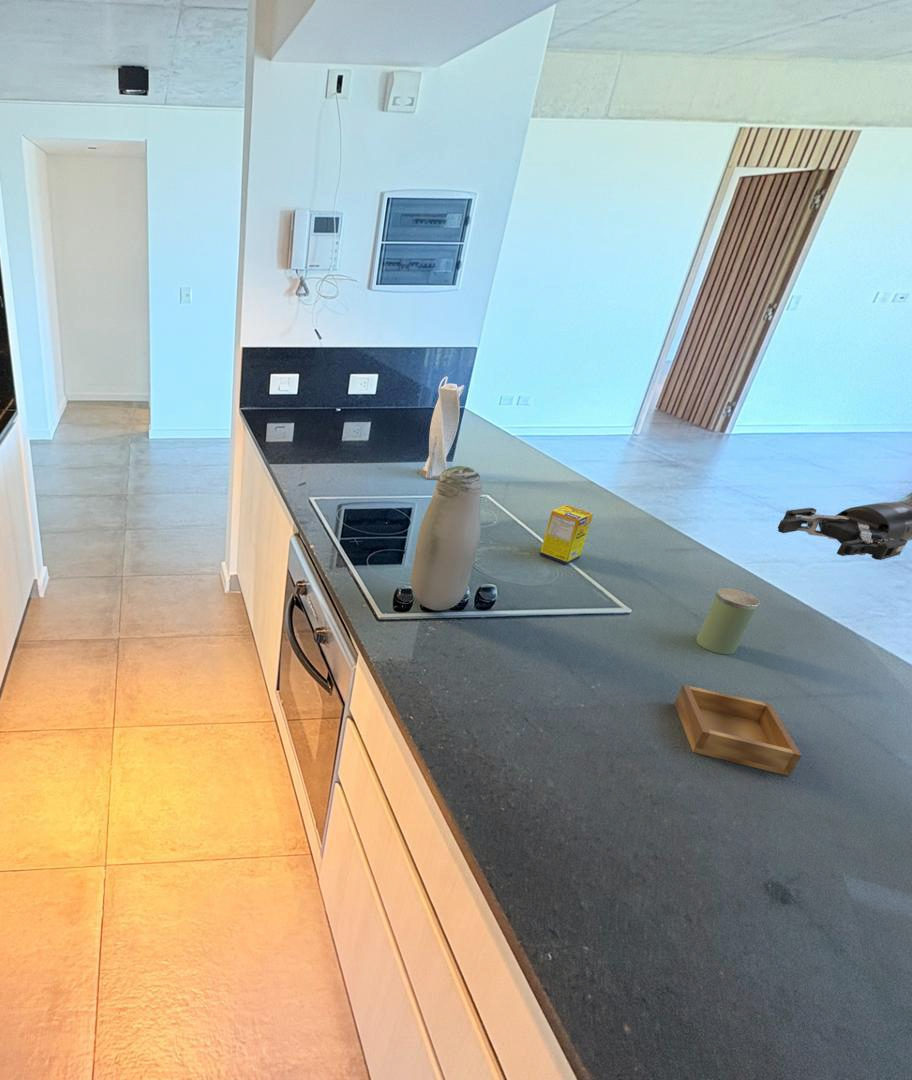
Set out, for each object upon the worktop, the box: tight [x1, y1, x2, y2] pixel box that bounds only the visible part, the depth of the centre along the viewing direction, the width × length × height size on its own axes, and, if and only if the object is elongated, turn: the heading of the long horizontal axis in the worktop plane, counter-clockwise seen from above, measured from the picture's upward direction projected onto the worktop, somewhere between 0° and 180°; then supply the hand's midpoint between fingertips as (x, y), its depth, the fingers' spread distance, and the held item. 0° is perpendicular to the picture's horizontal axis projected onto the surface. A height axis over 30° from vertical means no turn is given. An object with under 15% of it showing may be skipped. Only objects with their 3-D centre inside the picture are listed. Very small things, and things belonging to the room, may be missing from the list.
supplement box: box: [539, 504, 594, 566], centre depth 134 cm, size 6×6×11 cm
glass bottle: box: [410, 465, 483, 611], centre depth 112 cm, size 10×10×28 cm
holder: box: [673, 684, 802, 777], centre depth 87 cm, size 11×11×4 cm
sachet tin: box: [695, 587, 761, 656], centre depth 105 cm, size 6×6×10 cm
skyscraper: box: [416, 375, 465, 481], centre depth 176 cm, size 8×8×28 cm
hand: (810, 537), depth 101 cm, fingers open, 8 cm apart
